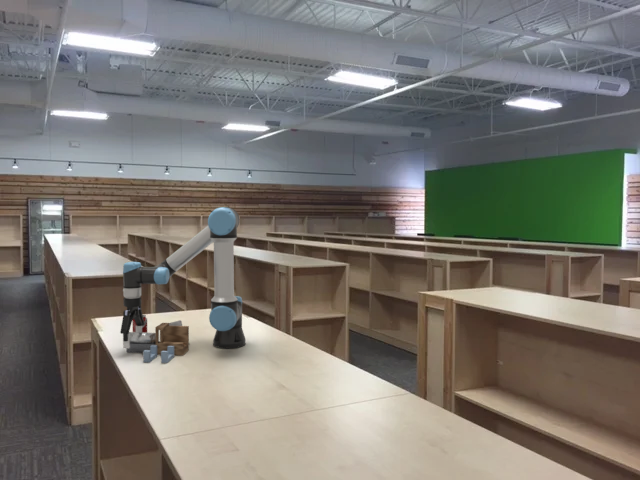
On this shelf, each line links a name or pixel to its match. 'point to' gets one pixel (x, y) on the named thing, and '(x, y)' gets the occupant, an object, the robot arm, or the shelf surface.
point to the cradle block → (152, 353)
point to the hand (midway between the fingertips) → (132, 344)
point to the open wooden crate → (172, 338)
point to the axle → (142, 337)
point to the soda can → (144, 328)
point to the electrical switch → (176, 323)
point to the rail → (138, 347)
